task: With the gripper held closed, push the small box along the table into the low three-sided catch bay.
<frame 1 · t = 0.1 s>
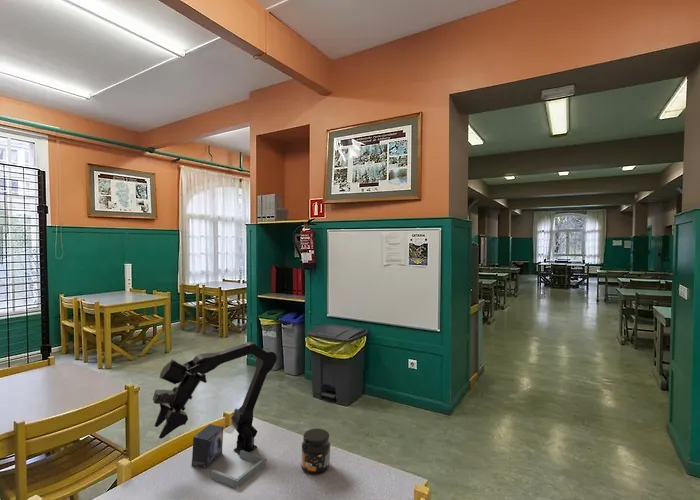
hand: (157, 432, 123), 15 cm above the table, tool tilted 30°, fingers open, 9 cm apart
small box: (207, 460, 134), on the table
supplement container: (315, 468, 131), on the table
catch bay: (235, 470, 128), on the table
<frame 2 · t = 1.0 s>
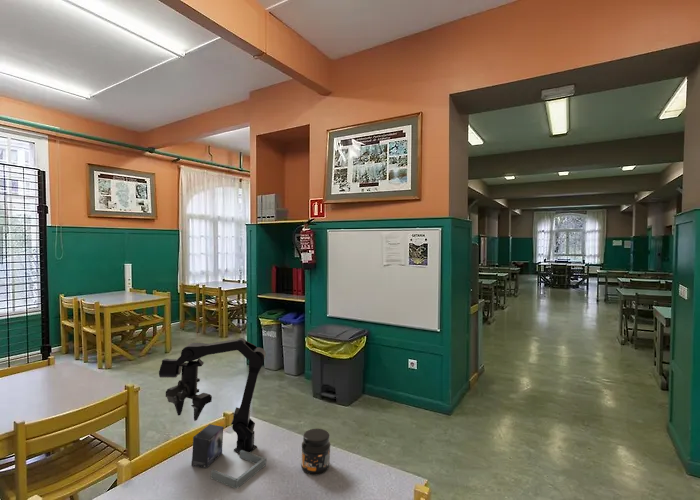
hand: (187, 417, 138), 13 cm above the table, tool pointing down, fingers open, 8 cm apart
nothing on the table moved.
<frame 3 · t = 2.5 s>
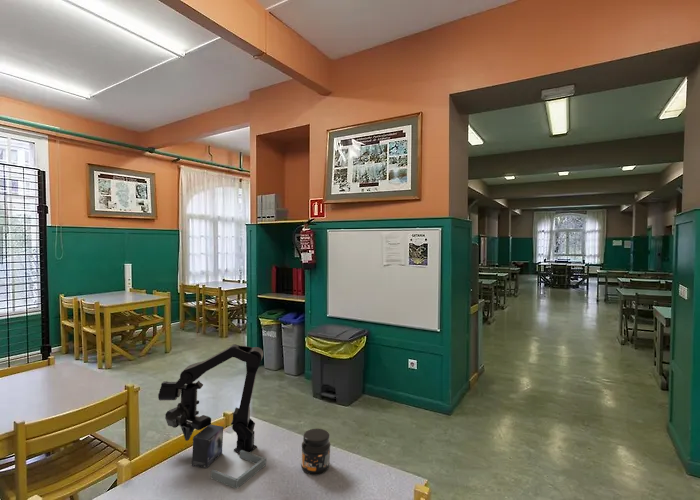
hand: (187, 440, 138), 4 cm above the table, tool pointing down, fingers closed
nothing on the table moved.
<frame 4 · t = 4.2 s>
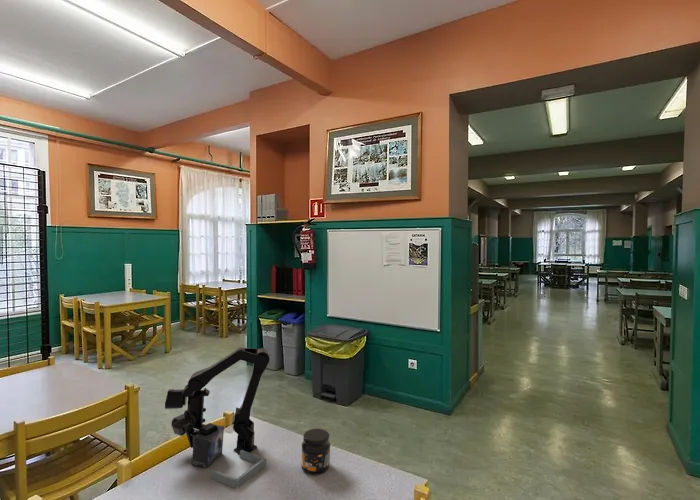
hand: (193, 448, 137), 2 cm above the table, tool pointing down, fingers closed, pressing on small box
small box: (207, 459, 134), on the table, touching gripper
everything else where it was.
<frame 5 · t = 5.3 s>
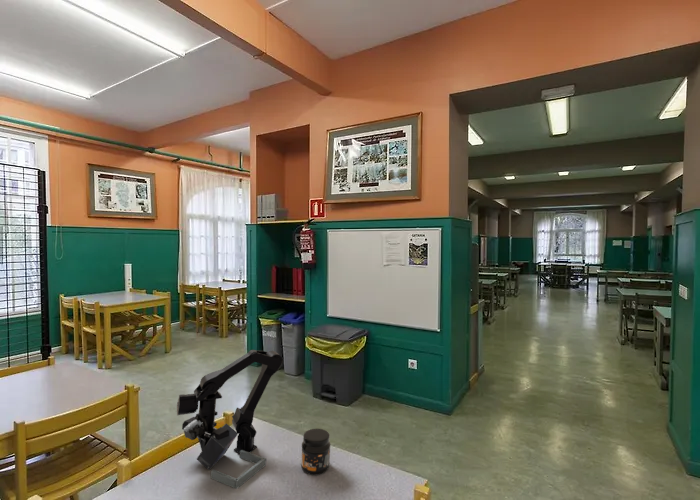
hand: (203, 452, 134), 2 cm above the table, tool pointing down, fingers closed, pressing on small box
small box: (210, 457, 133), point 1 cm above the table, touching gripper
everything else where it was.
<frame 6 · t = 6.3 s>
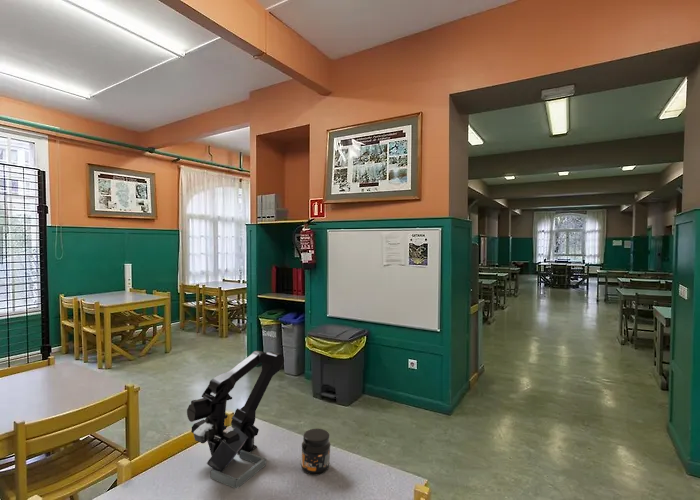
hand: (213, 456, 131), 3 cm above the table, tool pointing down, fingers closed
small box: (220, 461, 130), point 1 cm above the table, touching gripper
everything else where it was.
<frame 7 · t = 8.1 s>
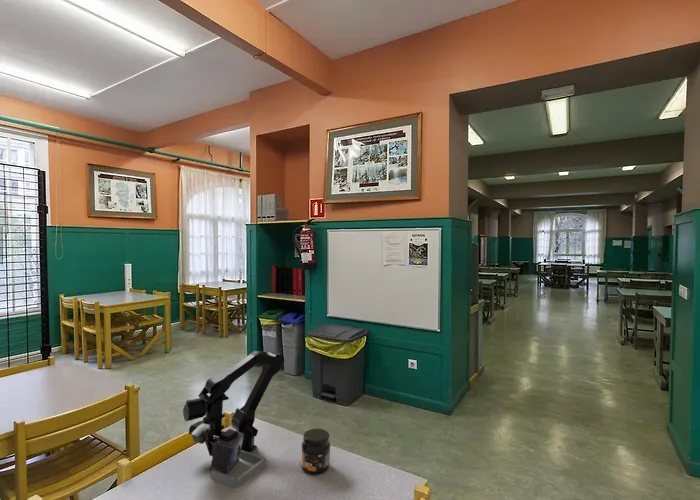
hand: (212, 455, 132), 2 cm above the table, tool pointing down, fingers closed
small box: (224, 466, 129), on the table, touching gripper
everything else where it was.
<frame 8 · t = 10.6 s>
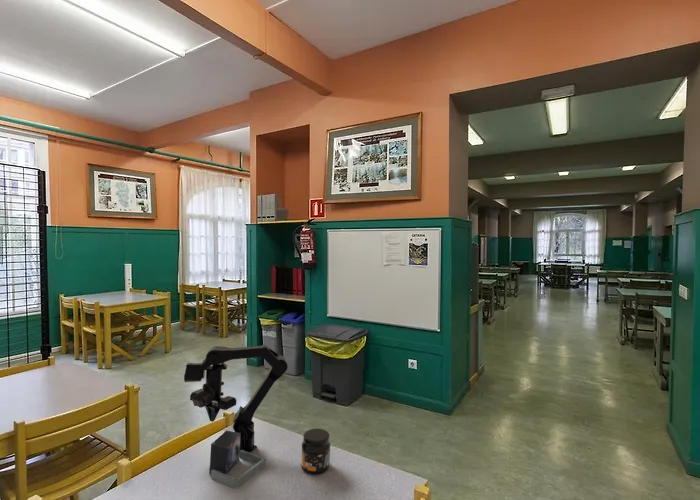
hand: (212, 421, 138), 12 cm above the table, tool pointing down, fingers closed
small box: (225, 467, 129), on the table
everything else where it was.
at the end: small box inside the target area on the catch bay (4.0 cm from its centre), point 0.0 cm above the catch bay's base; small box tilted 0° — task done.
